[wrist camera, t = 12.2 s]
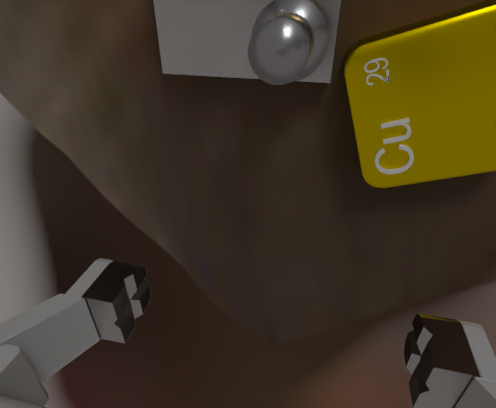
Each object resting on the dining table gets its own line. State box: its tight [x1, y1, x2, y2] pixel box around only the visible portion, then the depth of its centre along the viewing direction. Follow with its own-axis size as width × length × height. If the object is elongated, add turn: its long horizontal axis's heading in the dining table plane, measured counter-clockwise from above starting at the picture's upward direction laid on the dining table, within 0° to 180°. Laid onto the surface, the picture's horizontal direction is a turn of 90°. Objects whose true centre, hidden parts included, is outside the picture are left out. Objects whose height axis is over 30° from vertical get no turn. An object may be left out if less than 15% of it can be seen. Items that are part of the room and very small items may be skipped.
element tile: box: [344, 0, 496, 188], centre depth 33 cm, size 15×15×5 cm
